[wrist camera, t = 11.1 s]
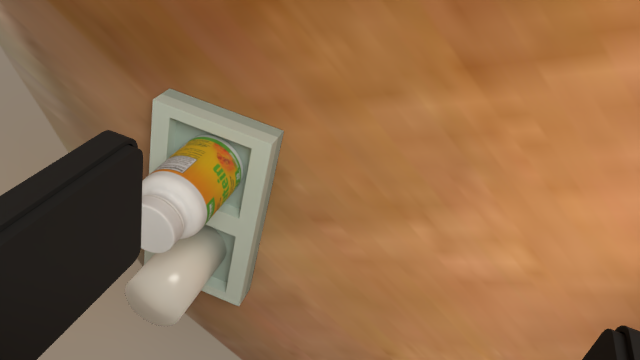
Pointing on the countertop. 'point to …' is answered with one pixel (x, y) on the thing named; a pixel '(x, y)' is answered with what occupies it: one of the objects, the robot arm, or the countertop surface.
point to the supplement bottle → (187, 191)
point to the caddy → (249, 197)
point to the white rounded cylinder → (175, 277)
